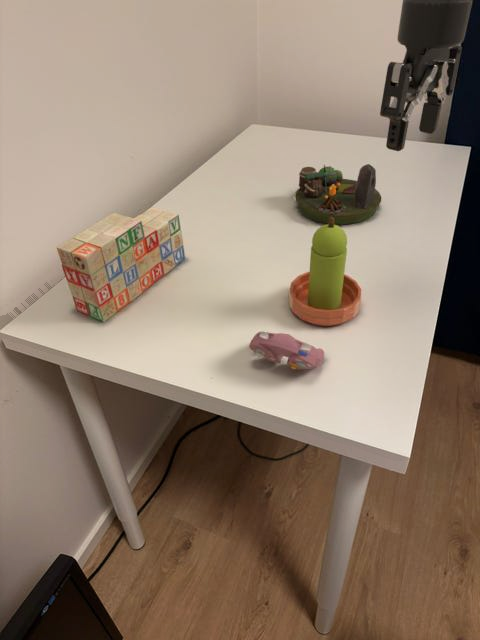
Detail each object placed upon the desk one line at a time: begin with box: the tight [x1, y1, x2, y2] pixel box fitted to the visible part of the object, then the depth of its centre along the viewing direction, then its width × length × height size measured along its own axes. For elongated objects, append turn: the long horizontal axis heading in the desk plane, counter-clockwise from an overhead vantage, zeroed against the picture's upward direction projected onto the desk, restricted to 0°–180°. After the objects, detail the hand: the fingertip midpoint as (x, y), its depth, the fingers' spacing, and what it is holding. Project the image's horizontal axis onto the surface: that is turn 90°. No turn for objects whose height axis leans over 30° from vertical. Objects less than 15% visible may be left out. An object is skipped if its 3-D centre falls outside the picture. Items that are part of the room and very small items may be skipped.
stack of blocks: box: [56, 206, 186, 323], centre depth 81 cm, size 21×6×12 cm, turn 147°
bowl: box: [288, 271, 362, 327], centre depth 77 cm, size 11×11×3 cm
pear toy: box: [308, 217, 348, 310], centre depth 73 cm, size 5×5×15 cm
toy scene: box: [294, 163, 382, 225], centre depth 101 cm, size 18×18×11 cm
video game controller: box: [248, 330, 325, 370], centre depth 66 cm, size 10×5×7 cm, turn 64°
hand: (411, 140), depth 65 cm, fingers open, 8 cm apart
